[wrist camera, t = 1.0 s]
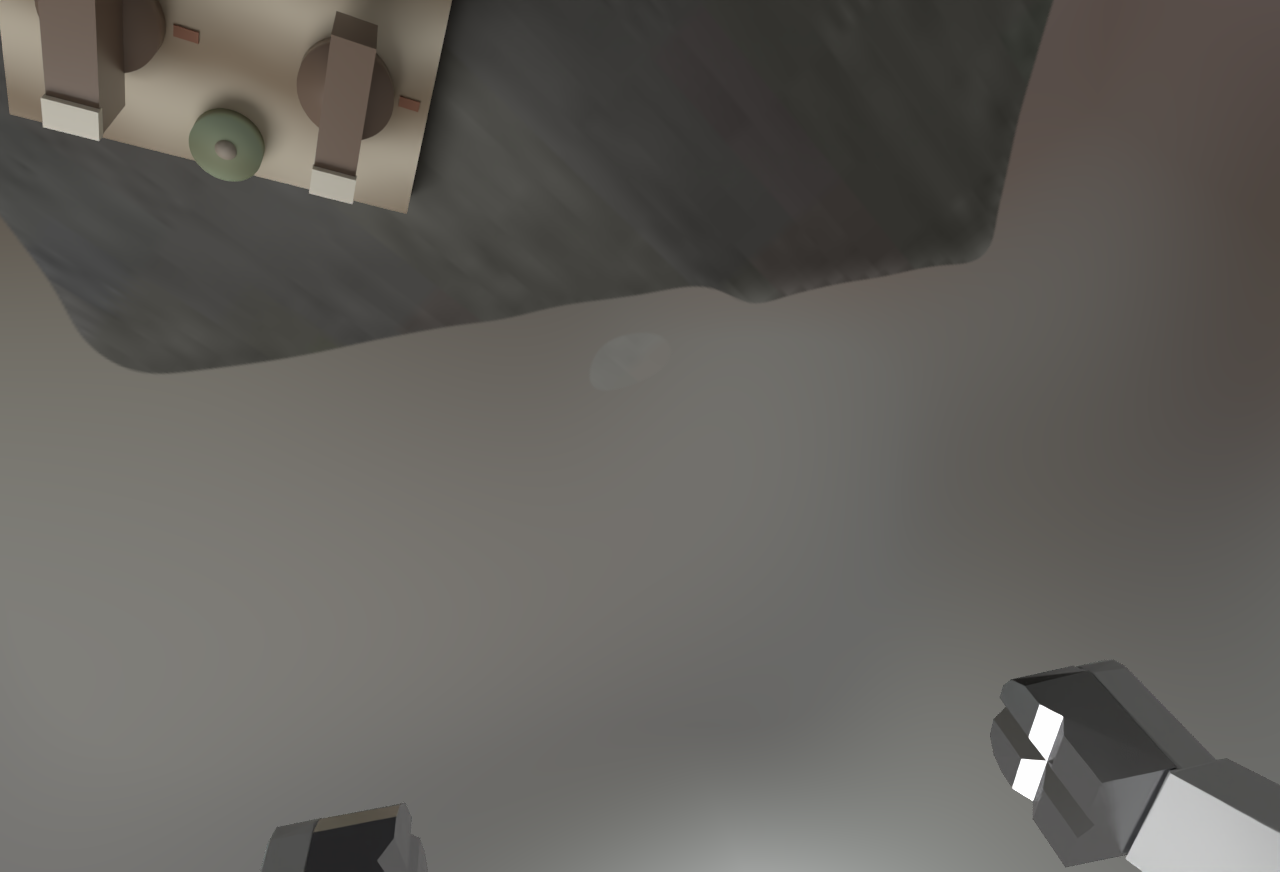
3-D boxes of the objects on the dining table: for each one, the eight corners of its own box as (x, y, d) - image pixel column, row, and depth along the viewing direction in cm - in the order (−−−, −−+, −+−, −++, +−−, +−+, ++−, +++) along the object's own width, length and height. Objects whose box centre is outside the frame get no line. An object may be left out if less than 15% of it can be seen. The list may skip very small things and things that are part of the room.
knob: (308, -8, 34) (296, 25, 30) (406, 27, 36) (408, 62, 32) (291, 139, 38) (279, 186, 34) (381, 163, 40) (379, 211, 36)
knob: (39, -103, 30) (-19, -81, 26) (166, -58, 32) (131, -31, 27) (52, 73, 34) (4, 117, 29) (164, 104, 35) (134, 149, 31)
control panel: (-5, -203, 29) (-44, -200, 26) (452, -23, 37) (457, -7, 34) (25, 101, 36) (-4, 128, 33) (405, 200, 43) (406, 228, 41)
